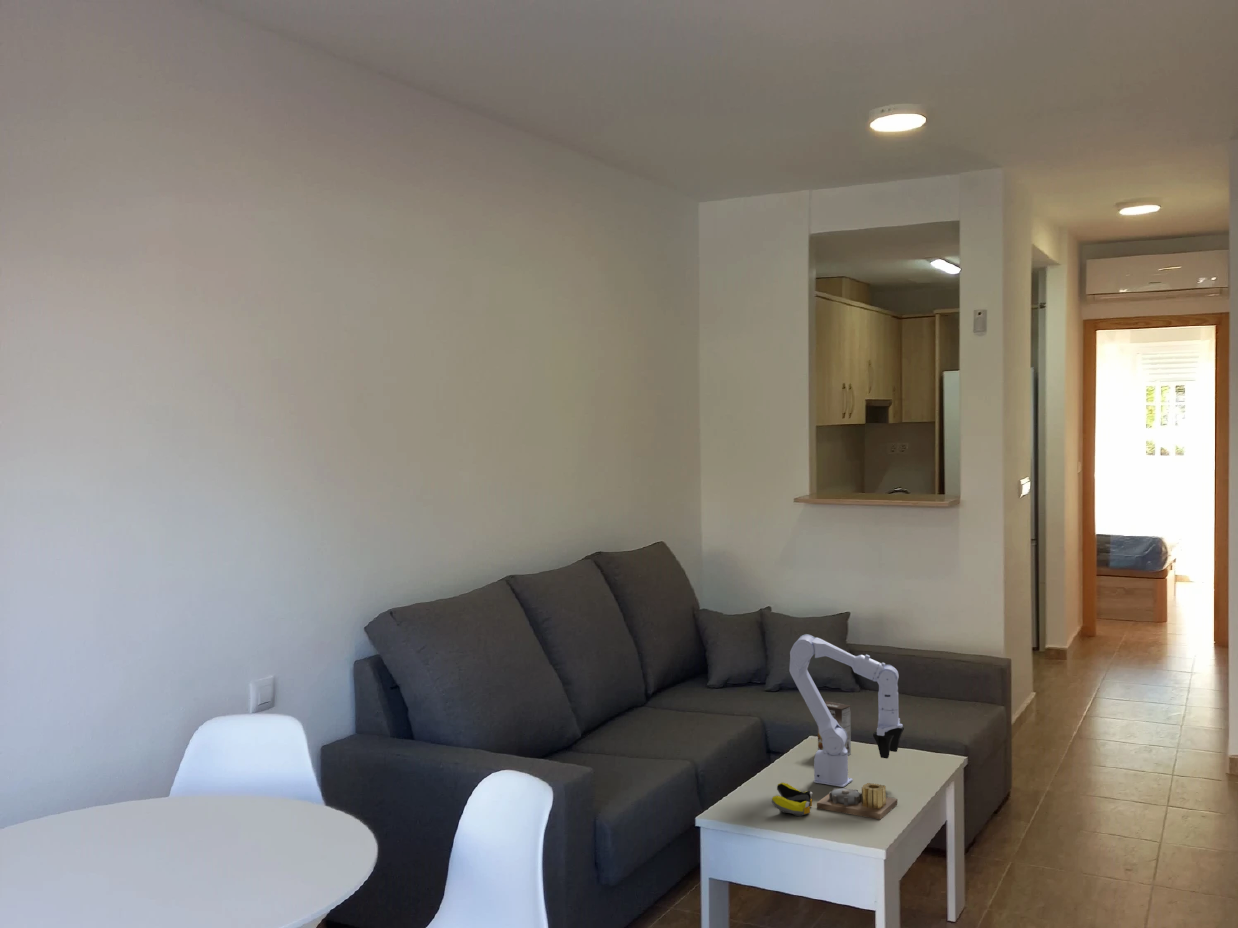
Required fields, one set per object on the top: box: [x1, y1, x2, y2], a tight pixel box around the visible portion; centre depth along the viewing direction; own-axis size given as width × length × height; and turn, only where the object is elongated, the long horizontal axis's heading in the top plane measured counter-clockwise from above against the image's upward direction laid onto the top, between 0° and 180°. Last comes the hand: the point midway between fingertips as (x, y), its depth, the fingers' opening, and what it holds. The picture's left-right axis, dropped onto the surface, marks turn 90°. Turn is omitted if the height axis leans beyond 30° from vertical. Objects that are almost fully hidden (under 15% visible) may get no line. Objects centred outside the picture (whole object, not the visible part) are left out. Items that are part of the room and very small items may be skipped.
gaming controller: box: [771, 781, 813, 817], centre depth 298 cm, size 15×6×10 cm
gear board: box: [816, 787, 898, 820], centre depth 299 cm, size 18×14×4 cm
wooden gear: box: [861, 782, 887, 809], centre depth 296 cm, size 6×6×5 cm
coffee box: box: [817, 700, 852, 756], centre depth 349 cm, size 9×6×16 cm
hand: (888, 754), depth 315 cm, fingers open, 7 cm apart
